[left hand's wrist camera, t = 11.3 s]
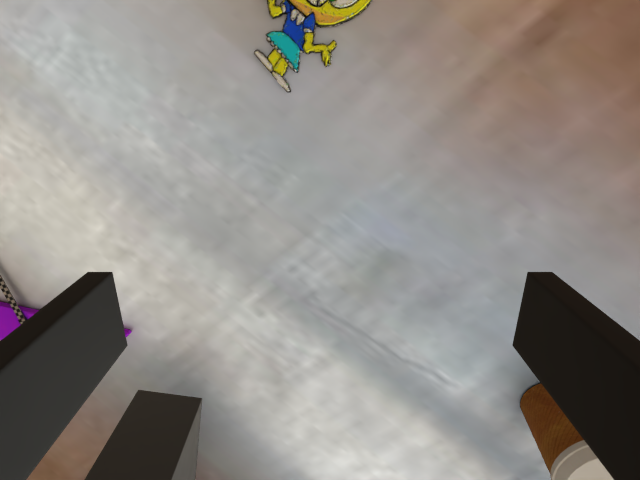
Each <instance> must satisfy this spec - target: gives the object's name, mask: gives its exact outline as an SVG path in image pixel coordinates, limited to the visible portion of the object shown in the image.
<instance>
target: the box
mask: <svg viewBox="0 0 640 480" xmlns="http://www.w3.org/2000/svg"><path fill="white" fill-rule="evenodd" d="M201 406H202V398H195V397H188V396H180V395H173V394H165V393H158V392H150V391H143V390H138V391H137V393H136V395H135V396H134V398H133V400H132V401H131V403H130V405H129V406H128V408H127V410H126V411H125V413H124V415H123V416H122V418H121V420H120V421H119V423H118V425H117V427H116V428H115V430H114V432H113V433H112V435H111V437H110V438H109V440H108V442H107V443H106V445H105V447H104V448H103V450H102V452H101V453H100V455H99V457H98V458H97V460H96V462H95V463H94V465H93V467H92V468H91V470H90V472H89V473H88V475H87V477H86V478H85V480H195V476H196V464H197V453H198V441H199V429H200V418H201Z"/></svg>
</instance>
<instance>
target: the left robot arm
mask: <svg viewBox="0 0 640 480" xmlns="http://www.w3.org/2000/svg"><path fill="white" fill-rule="evenodd" d="M126 347H127V341H126V336H125V331H124V326H123V322H122V317H121V312H120V307H119V302H118V297H117V293H116V288H115V283H114V278H113V273H112V272H88V273H86V274H85V275H84V276H82V277H81V278H80V279H79V280H77V281H76V282H75V283H73V284H72V285H71V286H70V287H68V288H67V289H66V290H65V291H63V292H62V293H61V294H59V295H58V296H57V297H56V298H54V299H53V300H52V301H51V302H49V303H48V304H47V305H45V306H44V307H43V308H42V309H40V310H39V311H38V312H36V313H35V314H34V315H33V316H31V317H30V318H29V319H28V320H26V321H25V322H24V323H22V324H21V325H20V326H19V327H17V328H16V329H15V330H14V331H12V332H11V333H10V334H8V335H7V336H6V337H5V338H3V339H2V340H1V341H0V480H26V479H27V478H28V476H29V475H30V474H31V472H32V471H33V470H34V469H35V467H36V466H37V465H38V463H39V462H40V461H41V459H42V458H43V457H44V455H45V454H46V453H47V451H48V450H49V449H50V447H51V446H52V445H53V443H54V442H55V441H56V439H57V438H58V437H59V435H60V434H61V433H62V431H63V430H64V429H65V427H66V426H67V425H68V423H69V422H70V421H71V419H72V418H73V417H74V416H75V414H76V413H77V412H78V410H79V409H80V408H81V406H82V405H83V404H84V402H85V401H86V400H87V398H88V397H89V396H90V394H91V393H92V392H93V390H94V389H95V388H96V386H97V385H98V384H99V382H100V381H101V380H102V378H103V377H104V376H105V374H106V373H107V372H108V370H109V369H110V368H111V366H112V365H113V364H114V363H115V361H116V360H117V359H118V357H119V356H120V355H121V353H122V352H123V351H124V349H125V348H126ZM513 347H514V348H515V349H516V351H517V352H518V353H519V355H520V356H521V357H522V359H523V360H524V361H525V363H526V364H527V365H528V366H529V368H530V369H531V370H532V372H533V373H534V374H535V376H536V377H537V378H538V380H539V381H540V382H541V384H542V385H543V386H544V388H545V389H546V390H547V392H548V393H549V394H550V396H551V397H552V398H553V400H554V401H555V402H556V404H557V405H558V406H559V408H560V409H561V410H562V412H563V413H564V414H565V416H566V417H567V418H568V419H569V421H570V422H571V423H572V425H573V426H574V427H575V429H576V430H577V431H578V433H579V434H580V435H581V437H582V438H583V439H584V441H585V442H586V443H587V445H588V446H589V447H590V449H591V450H592V451H593V453H594V454H595V455H596V457H597V458H598V459H599V461H600V462H601V463H602V465H603V466H604V467H605V469H606V470H607V471H608V472H609V474H610V475H611V476H612V478H613V479H614V480H640V341H639V340H638V339H637V338H635V337H634V336H633V335H632V334H630V333H629V332H628V331H626V330H625V329H624V328H623V327H621V326H620V325H619V324H618V323H616V322H615V321H614V320H612V319H611V318H610V317H609V316H607V315H606V314H605V313H604V312H602V311H601V310H600V309H598V308H597V307H596V306H595V305H593V304H592V303H591V302H589V301H588V300H587V299H586V298H584V297H583V296H582V295H581V294H579V293H578V292H577V291H575V290H574V289H573V288H572V287H570V286H569V285H568V284H567V283H565V282H564V281H563V280H561V279H560V278H559V277H558V276H556V275H555V274H554V273H552V272H528V273H527V278H526V283H525V288H524V293H523V297H522V302H521V307H520V312H519V317H518V322H517V326H516V331H515V336H514V341H513Z"/></svg>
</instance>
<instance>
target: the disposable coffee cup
mask: <svg viewBox="0 0 640 480" xmlns="http://www.w3.org/2000/svg"><path fill="white" fill-rule="evenodd" d="M520 407H521V410H522V412H523V415H524V417H525V419H526V421H527V423H528V426H529V428H530V430H531V432H532V435H533V437H534V439H535V441H536V444H537V446H538V448H539V450H540V452H541V455H542V457H543V459H544V461H545V464H546V466H547V468H548V470H549V472H550V474H551V475H550V476H551V480H614V479H613V478H612V476H611V475H610V474H609V472H608V471H607V470H606V469H605V467H604V466H603V465H602V463H601V462H600V461H599V459H598V458H597V457H596V455H595V454H594V453H593V451H592V450H591V449H590V447H589V446H588V445H587V443H586V442H585V441H584V439H583V438H582V437H581V435H580V434H579V433H578V431H577V430H576V429H575V427H574V426H573V425H572V423H571V422H570V421H569V419H568V418H567V417H566V416H565V414H564V413H563V412H562V410H561V409H560V408H559V406H558V405H557V404H556V402H555V401H554V400H553V398H552V397H551V396H550V394H549V393H548V392H547V390H546V389H545V388H544V386H543V385H542V384H538V385H535V386H533V387H532V388H530V389H529V390H528V391H526V393H525V394H524V395H523V397H522V399H521V402H520Z"/></svg>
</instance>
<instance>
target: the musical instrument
mask: <svg viewBox="0 0 640 480" xmlns="http://www.w3.org/2000/svg"><path fill="white" fill-rule="evenodd" d="M0 288H1V290H2V292H3V293H4V295H5V297H6V298H7V300H8V302H9V303H4V302H0V340H2V339H3V338H5V337H6V336H7V335H8V334H10V333H11V332H12V331H14V330H15V329H16V328H17V327H19V326H20V325H21V324H22V323H24V322H25V321H26V320H28V319H29V318H30V317H31V316H33V315H34V314H35V313H36V312H38V311H39V310H36V309H32V308H27V307H22V306H18V305H17V303H16V301H15V300H14V298H13V296H12V294H11V293H10V291H9V289H8V287H7V286H6V284H5V282H4V280H3V279H2V277H1V275H0ZM124 331H125V336H126V337H127V336H128V335H129V334H130V333H131V330H129V329H125V328H124Z"/></svg>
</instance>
